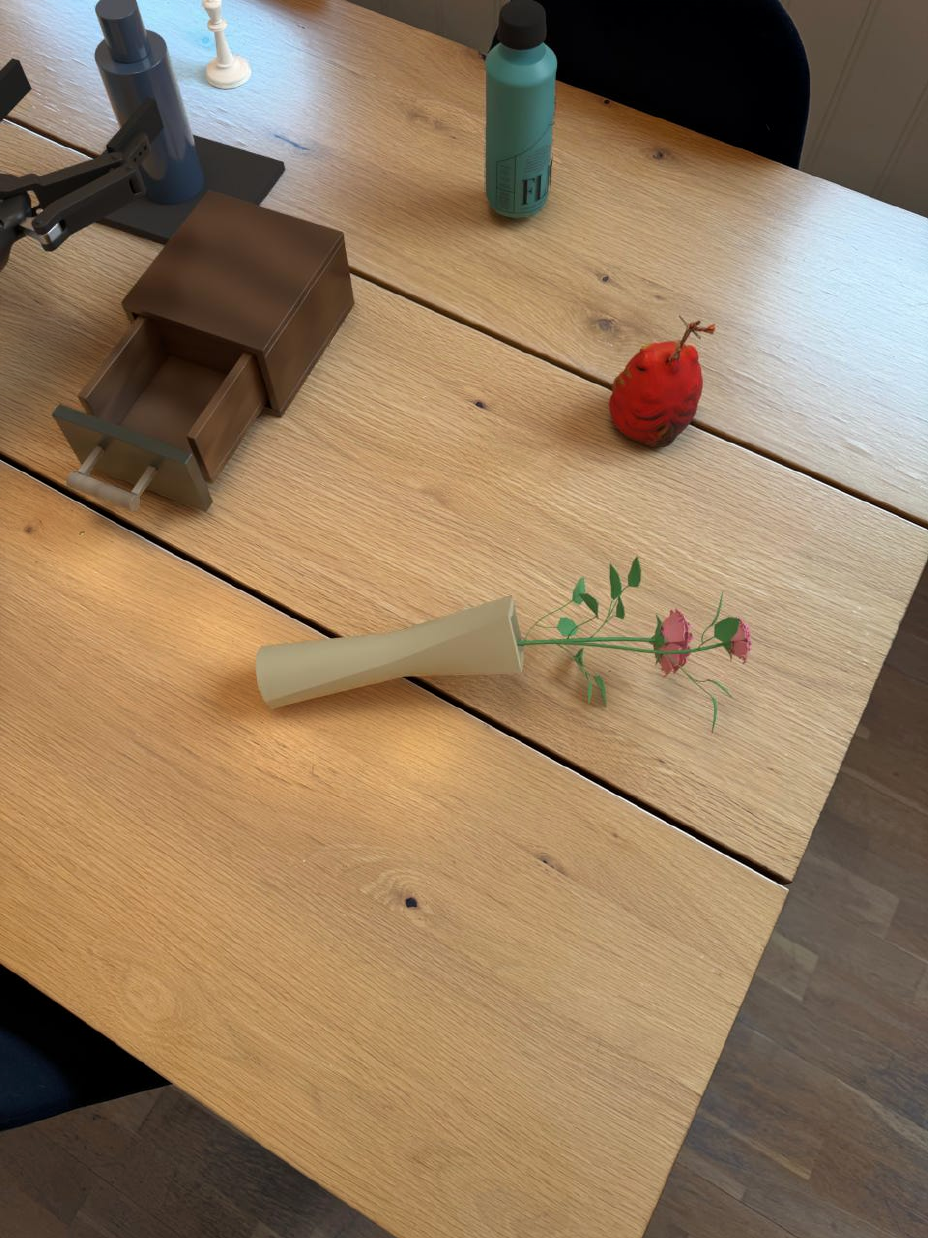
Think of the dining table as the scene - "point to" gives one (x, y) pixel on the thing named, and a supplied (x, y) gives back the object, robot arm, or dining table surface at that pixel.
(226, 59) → the chess piece
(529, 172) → the beverage bottle
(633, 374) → the red fruit with stem
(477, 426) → the dining table surface
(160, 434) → the drawer
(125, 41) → the blue bottle
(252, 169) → the mat
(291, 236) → the cabinet
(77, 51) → the dining table surface
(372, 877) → the dining table surface
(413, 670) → the flower vase
